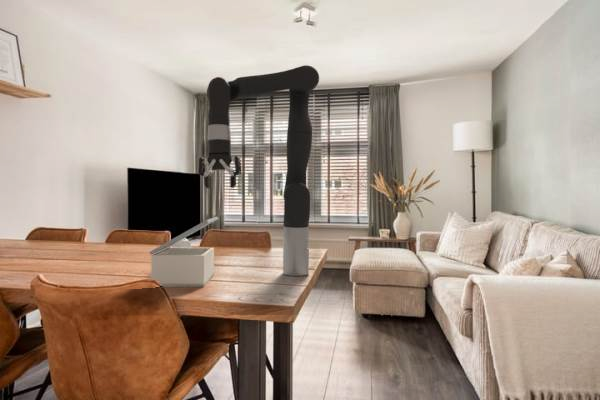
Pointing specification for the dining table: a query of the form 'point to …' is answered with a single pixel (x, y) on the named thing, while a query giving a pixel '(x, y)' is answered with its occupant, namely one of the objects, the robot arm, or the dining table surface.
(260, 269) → the dining table surface
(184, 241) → the white rounded piece
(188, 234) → the carton lid
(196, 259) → the carton
